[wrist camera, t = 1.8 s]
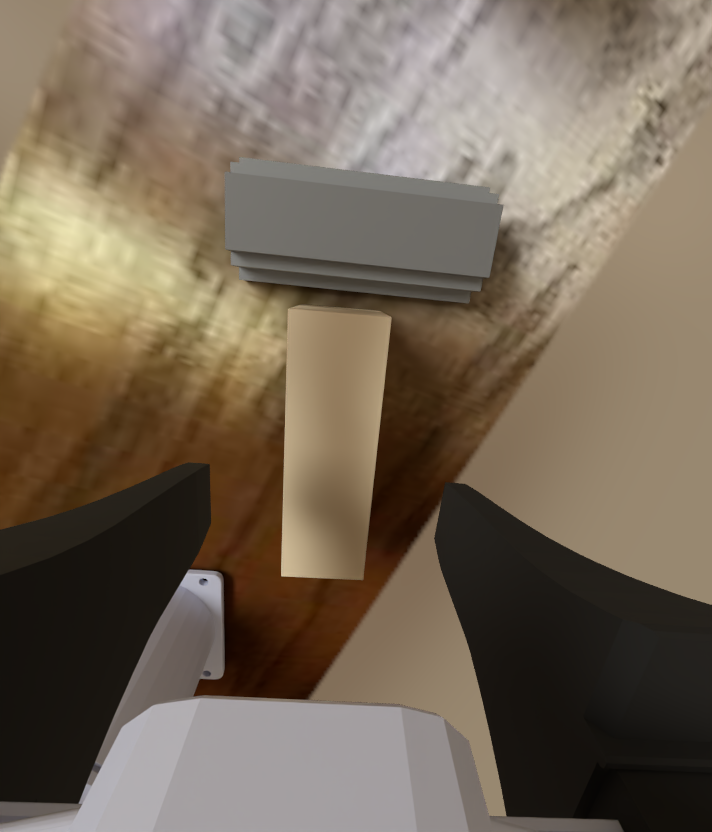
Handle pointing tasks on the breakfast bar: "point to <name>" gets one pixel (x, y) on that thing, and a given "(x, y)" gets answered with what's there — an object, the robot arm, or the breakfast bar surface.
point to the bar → (331, 437)
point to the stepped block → (359, 230)
